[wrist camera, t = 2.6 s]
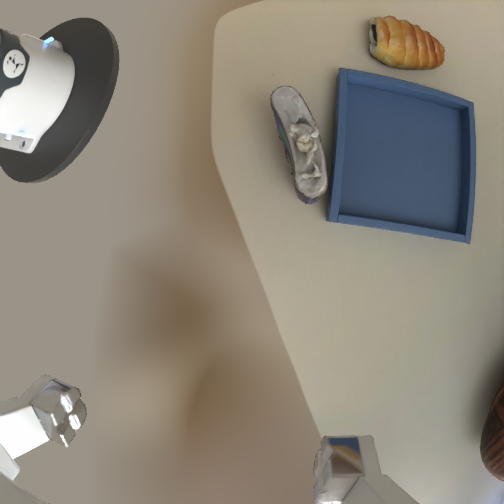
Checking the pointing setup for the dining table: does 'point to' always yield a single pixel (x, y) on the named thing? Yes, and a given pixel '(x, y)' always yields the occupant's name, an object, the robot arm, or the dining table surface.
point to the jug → (494, 438)
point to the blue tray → (402, 158)
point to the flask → (300, 143)
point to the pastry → (404, 44)
